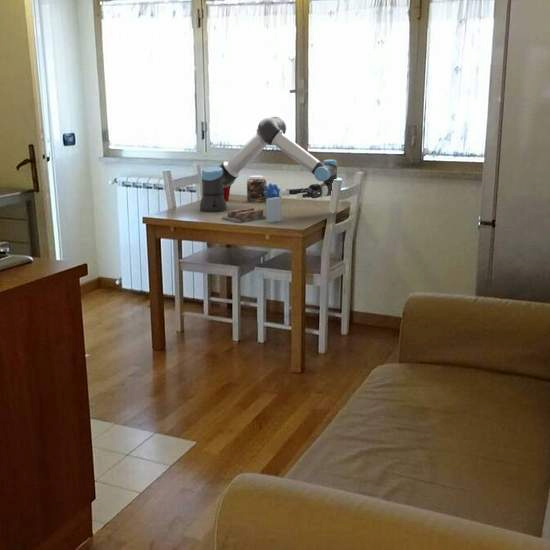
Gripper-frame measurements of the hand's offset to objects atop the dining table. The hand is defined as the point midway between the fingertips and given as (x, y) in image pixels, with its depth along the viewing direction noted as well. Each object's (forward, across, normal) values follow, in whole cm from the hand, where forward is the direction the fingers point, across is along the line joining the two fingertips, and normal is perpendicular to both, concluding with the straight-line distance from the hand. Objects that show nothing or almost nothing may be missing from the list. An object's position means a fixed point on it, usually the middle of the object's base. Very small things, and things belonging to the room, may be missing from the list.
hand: (288, 195), depth 370 cm
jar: (-25, +56, -12) cm, 62 cm away
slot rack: (+16, +16, -12) cm, 26 cm away
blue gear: (-27, +43, -12) cm, 52 cm away
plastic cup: (-12, +71, -12) cm, 73 cm away
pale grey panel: (+10, 0, -12) cm, 16 cm away
